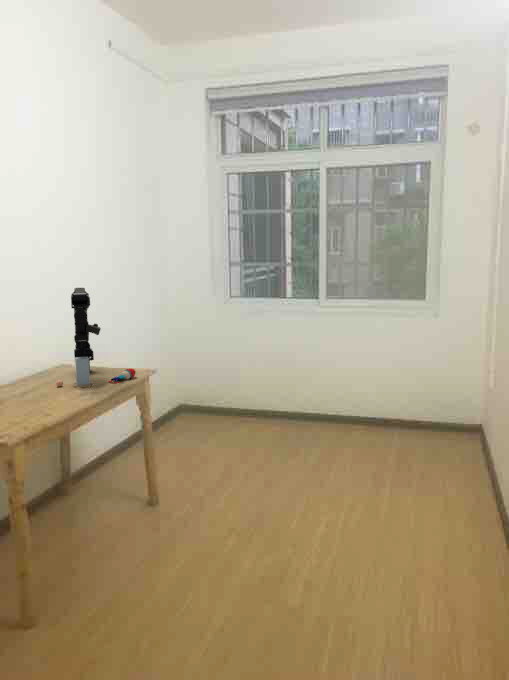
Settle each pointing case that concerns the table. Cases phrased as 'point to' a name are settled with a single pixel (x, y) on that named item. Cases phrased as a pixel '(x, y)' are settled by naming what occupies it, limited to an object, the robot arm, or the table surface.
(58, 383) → the ball
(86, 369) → the pale blue box
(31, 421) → the table surface
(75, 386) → the coaster
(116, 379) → the toy figure
